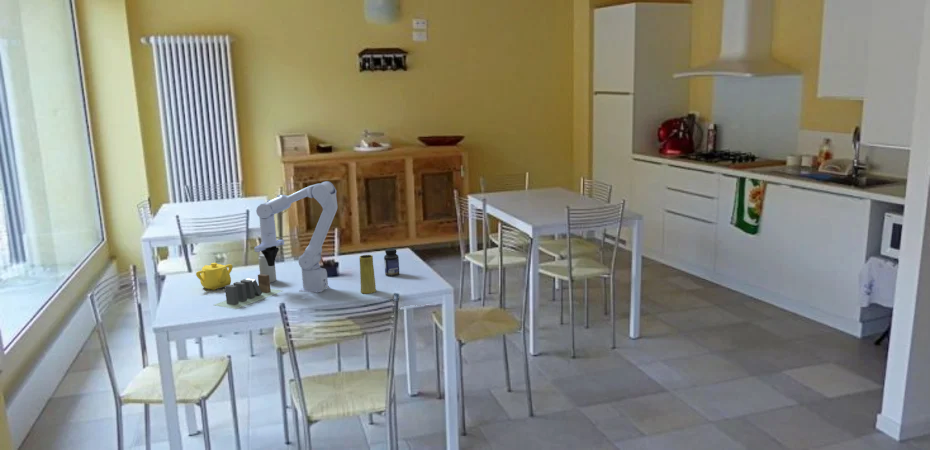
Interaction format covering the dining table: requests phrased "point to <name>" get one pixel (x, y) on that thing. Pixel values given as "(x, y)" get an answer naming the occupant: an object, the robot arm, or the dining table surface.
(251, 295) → the domino
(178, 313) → the dining table surface
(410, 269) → the dining table surface
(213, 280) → the teapot
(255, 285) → the domino
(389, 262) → the pill bottle
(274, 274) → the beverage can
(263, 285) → the domino
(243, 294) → the domino
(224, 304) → the mat
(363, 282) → the vase
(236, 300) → the domino
